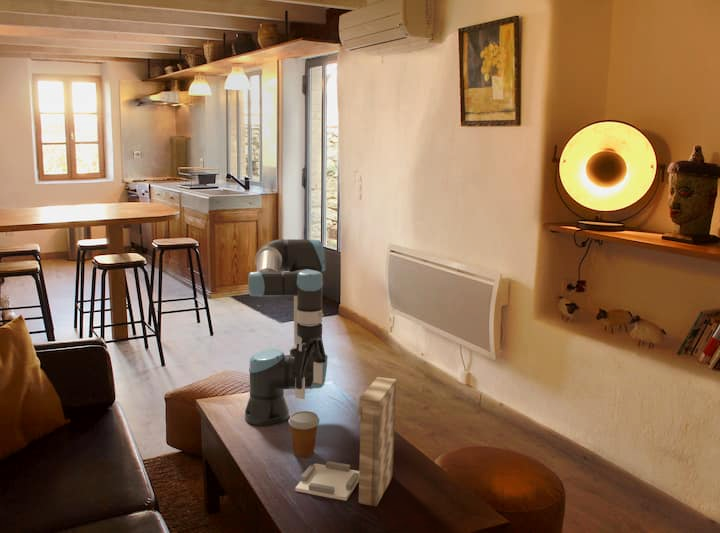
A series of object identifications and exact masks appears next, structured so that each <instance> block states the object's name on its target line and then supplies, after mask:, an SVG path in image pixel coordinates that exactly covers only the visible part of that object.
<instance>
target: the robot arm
mask: <svg viewBox="0 0 720 533" xmlns="http://www.w3.org/2000/svg"><path fill="white" fill-rule="evenodd" d="M254 263H255V267H256V271H252V272H251V271H250V272H249V273H248V277H247V278H248V280H247V282H248V284H247V285H248V286H247V287H248V295H249V296H251V297H259V298H261V297H293V333H294V334H293V343H294V345H293V346H292V347H291V348H290V349H289V354H288V355H287V354H285V353H284V351H283V350H281V349H274V348H273V349H266V350H262V351H259V352H256V353H254V354H253V355H252V356H251V357H250V359H249V368H248V372H249V399H248V402H247V403H246V404H247V405H246V407H245V410H244V420H245V421H246V422H247V423H249V424H250V425H254V426H259V427H268V426H269V427H270V426H271V427H272V426H277V425H280V424H283V423H285V422H287V420H289V418H290V414H289V412H290V411H289V410H290V409H289V407H288V403H287V401H286V398H285V396H284V395H285V394H284V393H285V392H284V390H294V391H295V395H294V396H295V399H300V400H305V399H306V395H305V394H306V389H307V390H308V389H309V390H312V389H321V388H323V387H324V385H325V383H326V377H327V369H328V368H327V367H328V359H329V358H328V355H327V353H326V351H325V347H324V343H323V323H322V322H323V317H324V313H323V296H324V295H323V291H324V290H323V287H324V281H323V280H324V279H323V272H325V271H326V257H325V251H324V245H323V243H322V241H320V240H319V239H310V238H307V239H303V238H302V239H301V238H300V239H299V238H298V239H297V238H295V239H281V238H280V239H279V238H278V239H275V240H272V241H269V242H267V243H265V244H264V245H262V246H261V247H259V249H258V250H257V251H256V253H255V256H254Z"/></svg>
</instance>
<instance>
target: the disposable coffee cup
mask: <svg viewBox="0 0 720 533" xmlns="http://www.w3.org/2000/svg"><path fill="white" fill-rule="evenodd" d="M287 420H288V424H289V427H290V436H291V444H292V450H293V455H294V454H295V457H298V456H299V457H298V458H307V457H309V458H310V457H312V456H313V455H314V452H315V446H316V439H317V435H318V434H317V431H318V425H319V423H320V419H319V415H318V414H317V413H315V412H313V411H308V410H299V411H295V412H293V413H291V414H290V415H289V418H288V419H287Z"/></svg>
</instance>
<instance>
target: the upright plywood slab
mask: <svg viewBox="0 0 720 533" xmlns="http://www.w3.org/2000/svg"><path fill="white" fill-rule="evenodd" d="M396 388H397V379H396V378H390V377H381V376H377V377H376V378H375V379H374V380H373V381H372V383H371V384H370V385H369V386H368V387H367V389H366V390H365V391H364V392H363V393H362V394H361V396H360V397H359V398H358V421H360V422H359V424H360V425H359V426H360V427H359V430H360V431H359V465H358V471H359V482H358V503H359V504H362V505H367V506H372V507H377V506H378V504H379V503H380V500H381V499H382V497H383V496H384V493H385V492H386V490H387V488H388V486H389V485H390V482H391V481H392V478H393V476H394V448H395V443H394V442H395V425H396V424H395V423H396V422H395V420H396V419H395V418H396V415H395V414H396V394H397V393H396V392H397V391H396V390H397V389H396Z"/></svg>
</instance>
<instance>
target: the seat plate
mask: <svg viewBox="0 0 720 533" xmlns="http://www.w3.org/2000/svg"><path fill="white" fill-rule="evenodd" d="M358 484H359V470H355V469H351V464H347V463H342V462H336V461H331V460H327V461H326V463H325V464H322V463H321V464H320V463H314V464H309V466H308V467H307V468H306V470H304V472H303V473H302V474H301V475H300V481H299V483H298V484H297V485H296V486H295V487H294V488H295V490H294V491H295V492H298V493H305V494H310V495H314V496H320V497H325V498H329V499H336V500H341V501H347V500H349V499H348V498H349V497H350V496H351V494H352V493H353V491H354V489H355V488H356V487H357V485H358Z"/></svg>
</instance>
